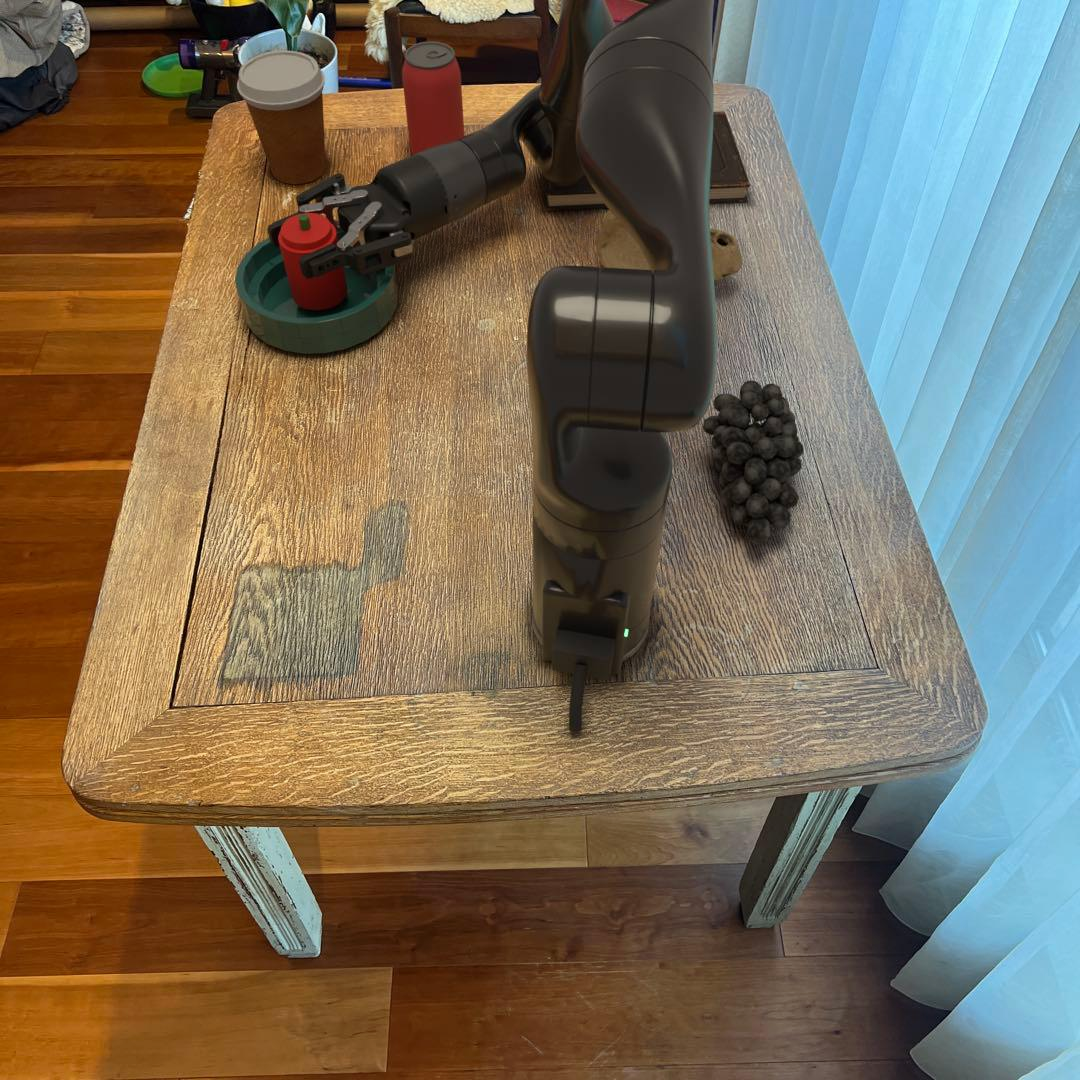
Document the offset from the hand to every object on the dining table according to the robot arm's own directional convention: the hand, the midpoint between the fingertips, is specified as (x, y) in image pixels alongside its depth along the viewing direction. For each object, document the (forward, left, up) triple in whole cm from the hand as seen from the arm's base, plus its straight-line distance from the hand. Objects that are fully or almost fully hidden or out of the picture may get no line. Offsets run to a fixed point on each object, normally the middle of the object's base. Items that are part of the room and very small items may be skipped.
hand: (286, 253), depth 98 cm
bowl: (+2, -2, -8) cm, 8 cm away
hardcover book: (+34, -30, -8) cm, 46 cm away
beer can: (+32, -6, -8) cm, 33 cm away
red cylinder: (+2, -2, -6) cm, 6 cm away
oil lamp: (+14, -36, -8) cm, 39 cm away
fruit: (-14, -47, -8) cm, 49 cm away
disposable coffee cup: (+25, +9, -8) cm, 28 cm away
